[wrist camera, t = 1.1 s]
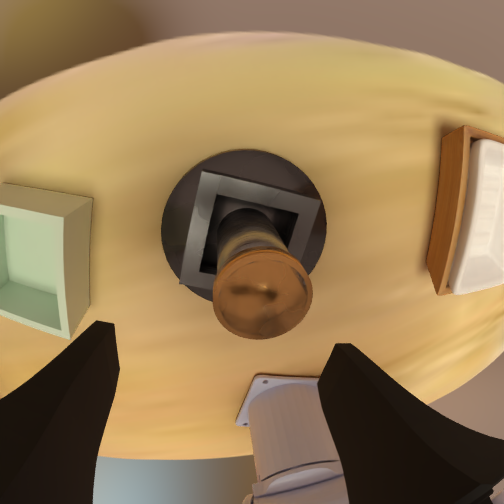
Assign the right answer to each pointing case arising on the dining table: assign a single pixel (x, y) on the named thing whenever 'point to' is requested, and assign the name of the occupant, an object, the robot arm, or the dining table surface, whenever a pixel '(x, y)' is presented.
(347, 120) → the dining table surface
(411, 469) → the robot arm
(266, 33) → the dining table surface
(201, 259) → the mount
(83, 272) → the bin
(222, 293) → the jar with copper lid
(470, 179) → the soap dish
